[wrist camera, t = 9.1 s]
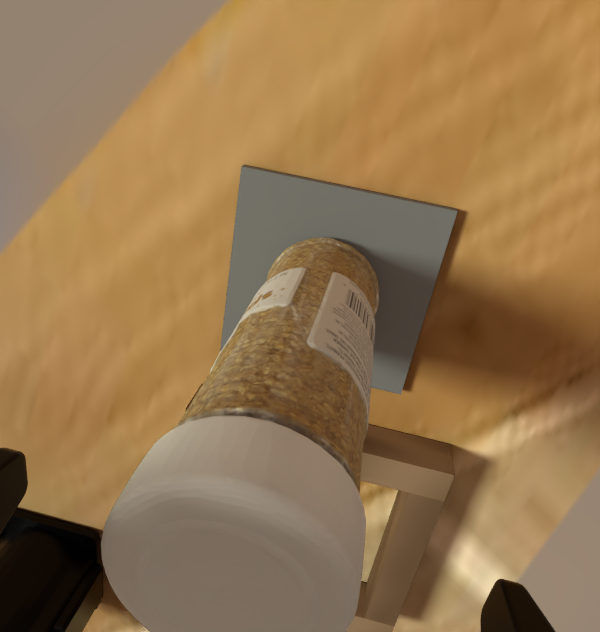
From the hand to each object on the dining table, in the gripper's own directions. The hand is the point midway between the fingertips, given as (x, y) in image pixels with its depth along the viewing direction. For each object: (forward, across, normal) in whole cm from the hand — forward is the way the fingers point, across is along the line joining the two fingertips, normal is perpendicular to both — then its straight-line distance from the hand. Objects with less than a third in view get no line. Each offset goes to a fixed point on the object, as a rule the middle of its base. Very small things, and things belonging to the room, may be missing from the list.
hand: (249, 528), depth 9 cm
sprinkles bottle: (+12, 0, 0) cm, 12 cm away
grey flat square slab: (+13, 0, 0) cm, 13 cm away
